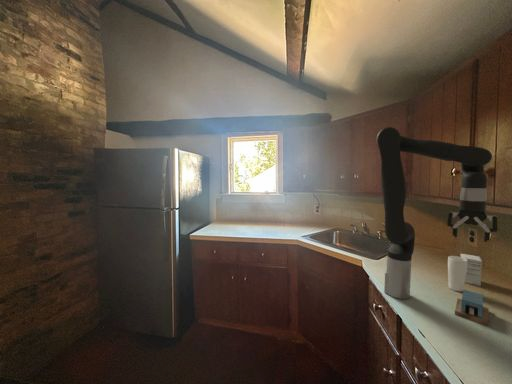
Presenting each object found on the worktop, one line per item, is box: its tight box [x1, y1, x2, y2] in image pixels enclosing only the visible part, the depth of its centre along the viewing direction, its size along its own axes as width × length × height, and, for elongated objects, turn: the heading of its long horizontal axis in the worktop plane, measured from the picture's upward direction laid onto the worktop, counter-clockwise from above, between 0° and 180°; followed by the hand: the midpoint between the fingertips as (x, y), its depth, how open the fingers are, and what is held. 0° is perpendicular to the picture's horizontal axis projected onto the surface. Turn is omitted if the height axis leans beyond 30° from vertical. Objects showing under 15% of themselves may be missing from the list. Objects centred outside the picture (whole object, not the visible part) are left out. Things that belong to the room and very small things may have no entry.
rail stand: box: [454, 298, 490, 326], centre depth 86 cm, size 9×12×4 cm
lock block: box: [461, 289, 484, 318], centre depth 85 cm, size 10×6×5 cm, turn 134°
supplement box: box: [459, 253, 483, 287], centre depth 110 cm, size 7×7×13 cm
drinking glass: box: [447, 255, 468, 292], centre depth 103 cm, size 7×7×15 cm
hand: (470, 239), depth 88 cm, fingers open, 8 cm apart
